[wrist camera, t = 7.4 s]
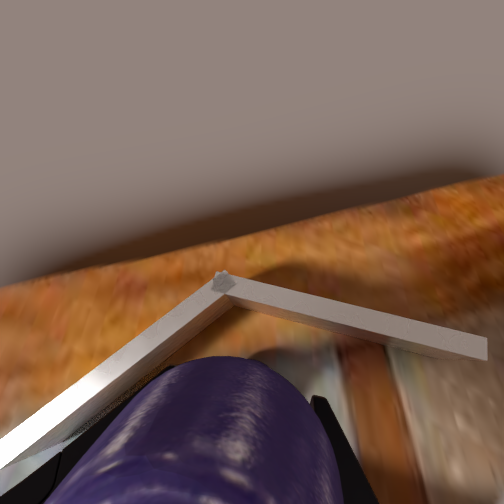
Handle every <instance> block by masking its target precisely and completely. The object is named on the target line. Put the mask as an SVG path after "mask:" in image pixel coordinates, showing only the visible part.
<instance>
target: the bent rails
mask: <svg viewBox="0 0 504 504" xmlns="http://www.w3.org/2000/svg"><path fill="white" fill-rule="evenodd" d="M233 306H237V307H241V308H245V309H249V310H252V311H256V312H260V313H264V314H268V315H272V316H275V317H279V318H283V319H287V320H291V321H294V322H298V323H302V324H306V325H310V326H314V327H317V328H321V329H325V330H329V331H333V332H337V333H340V334H344V335H348V336H352V337H356V338H360V339H363V340H367V341H371V342H375V343H379V344H382V345H386V346H390V347H394V348H398V349H402V350H405V351H409V352H413V353H417V354H421V355H425V356H428V357H432V358H436V359H452V360H475V361H488V357H487V338H486V337H482V336H478V335H474V334H470V333H466V332H461V331H457V330H453V329H449V328H445V327H441V326H437V325H433V324H429V323H425V322H421V321H417V320H413V319H408V318H404V317H400V316H396V315H392V314H388V313H384V312H380V311H376V310H372V309H368V308H364V307H359V306H355V305H351V304H347V303H343V302H339V301H335V300H331V299H327V298H323V297H319V296H315V295H311V294H306V293H302V292H298V291H294V290H290V289H286V288H282V287H278V286H274V285H270V284H266V283H262V282H257V281H253V280H249V279H245V278H241V277H237V276H233V275H229V274H228V273H227V271H226V270H224V271H222V272H217V271H216V274H215V277H214V278H213V279H212V280H211V281H209V282H208V283H207V284H205V285H204V286H203V287H201V288H200V289H199V290H197V291H196V292H195V293H194V294H192V295H191V296H190V297H188V298H187V299H186V300H184V301H183V302H182V303H180V304H179V305H178V306H176V307H175V308H174V309H172V310H171V311H170V312H168V313H167V314H166V315H165V316H163V317H162V318H161V319H159V320H158V321H157V322H155V323H154V324H153V325H151V326H150V327H149V328H147V329H146V330H145V331H143V332H142V333H141V334H140V335H138V336H137V337H136V338H134V339H133V340H132V341H130V342H129V343H128V344H126V345H125V346H124V347H122V348H121V349H120V350H118V351H117V352H116V353H114V354H113V355H112V356H111V357H109V358H108V359H107V360H105V361H104V362H103V363H101V364H100V365H99V366H97V367H96V368H95V369H93V370H92V371H91V372H89V373H88V374H87V375H86V376H84V377H83V378H82V379H80V380H79V381H78V382H76V383H75V384H74V385H72V386H71V387H70V388H68V389H67V390H66V391H64V392H63V393H62V394H61V395H59V396H58V397H57V398H55V399H54V400H53V401H51V402H50V403H49V404H47V405H46V406H45V407H43V408H42V409H41V410H39V411H38V412H37V413H35V414H34V415H33V416H32V417H30V418H29V419H28V420H26V421H25V422H24V423H22V424H21V425H20V426H18V427H17V428H16V429H14V430H13V431H12V432H10V433H9V434H8V435H7V436H5V437H4V438H3V439H1V440H0V470H1V469H3V468H5V467H7V466H10V465H12V464H14V463H17V462H19V461H21V460H23V459H26V458H28V457H30V456H32V455H35V454H37V453H39V452H42V451H44V450H46V449H48V448H51V447H53V446H55V445H57V444H60V443H61V442H63V441H64V440H65V439H66V438H68V437H69V436H70V435H71V434H73V433H74V432H75V431H76V430H78V429H79V428H80V427H81V426H83V425H84V424H85V423H86V422H88V421H89V420H90V419H92V418H93V417H94V416H95V415H97V414H98V413H99V412H100V411H102V410H103V409H104V408H105V407H107V406H108V405H109V404H110V403H112V402H113V401H114V400H115V399H117V398H118V397H119V396H121V395H122V394H123V393H124V392H126V391H127V390H128V389H129V388H131V387H132V386H133V385H134V384H136V383H137V382H138V381H139V380H141V379H142V378H143V377H144V376H146V375H147V374H148V373H150V372H151V371H152V370H153V369H155V368H156V367H157V366H158V365H160V364H161V363H162V362H163V361H165V360H166V359H167V358H168V357H170V356H171V355H172V354H173V353H175V352H176V351H177V350H179V349H180V348H181V347H182V346H184V345H185V344H186V343H187V342H189V341H190V340H191V339H192V338H194V337H195V336H196V335H197V334H199V333H200V332H201V331H202V330H204V329H205V328H206V327H208V326H209V325H210V324H211V323H213V322H214V321H215V320H216V319H218V318H219V317H220V316H221V315H223V314H224V313H225V312H226V311H228V310H229V309H230V308H231V307H233Z"/></svg>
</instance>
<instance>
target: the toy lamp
mask: <svg viewBox="0 0 504 504" xmlns="http://www.w3.org/2000/svg"><path fill="white" fill-rule="evenodd" d="M44 504H344V501H343V493H342V487H341V480H340V474H339V469H338V466H337V462H336V458H335V454H334V451H333V447H332V445H331V442H330V440H329V438H328V436H327V434H326V432H325V430H324V427H323V425H322V423H321V421H320V419H319V418H318V416H317V415H316V413H315V412H314V410H313V409H312V407H311V406H310V404H309V403H308V401H307V400H306V399H305V397H304V396H303V395H302V394H301V393H300V392H299V391H298V390H297V389H296V388H295V387H294V386H293V385H292V384H291V383H290V382H289V381H288V380H286V379H285V378H284V377H282V376H281V375H280V374H278V373H276V372H275V371H273V370H272V369H270V368H269V367H268V366H267V365H265V364H264V363H262V362H260V361H257V360H252V359H244V358H240V357H231V356H211V357H206V358H201V359H196V360H192V361H189V362H186V363H183V364H180V365H178V366H176V367H174V368H172V369H170V370H168V371H166V372H165V373H163V374H162V375H160V376H159V377H157V378H156V379H154V380H153V381H151V382H150V383H149V384H148V385H147V386H146V387H145V388H144V389H143V390H141V391H140V392H139V393H138V394H137V395H136V396H135V397H134V398H133V399H132V400H131V401H130V403H129V404H128V405H127V406H126V407H125V408H124V409H123V410H122V411H121V412H120V414H119V415H118V416H117V417H116V418H115V419H114V421H113V422H112V423H111V424H110V425H109V426H108V427H107V429H106V430H105V431H104V432H103V433H102V434H101V436H100V437H99V438H98V439H97V440H96V441H95V443H94V444H93V445H92V446H91V447H90V448H89V450H88V451H87V452H86V453H85V454H84V455H83V457H82V458H81V459H80V460H79V461H78V462H77V464H76V465H75V466H74V467H73V468H72V470H71V471H70V472H69V473H68V475H67V476H66V477H65V478H64V479H63V481H62V482H61V483H60V484H59V486H58V487H57V488H56V489H55V490H54V492H53V493H52V494H51V495H50V497H49V498H48V499H47V500H46V501H45V503H44Z"/></svg>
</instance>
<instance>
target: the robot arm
mask: <svg viewBox="0 0 504 504" xmlns="http://www.w3.org/2000/svg"><path fill="white" fill-rule="evenodd" d="M174 367H176V365H169V366H167V367H166V368H165V369H163V370H162V371H161V372H160V373H158V374H157V375H156V376H155V377H153V378H152V379H151V380H150V381H148V382H147V383H146V384H144V385H143V386H142V387H141V388H139V389H138V390H137V391H136V392H134V393H133V394H132V395H131V396H129V397H128V398H127V399H126V400H124V401H123V402H122V403H121V404H119V405H118V406H117V407H116V408H114V409H113V410H112V411H110V412H109V413H108V414H107V415H105V416H104V417H103V418H102V419H100V420H99V421H98V422H97V423H95V424H94V425H93V426H92V427H90V428H89V429H88V430H87V431H85V432H84V433H83V434H82V435H80V436H79V437H78V438H76V439H75V440H74V441H73V442H71V443H70V444H69V445H68V446H66V447H65V448H64V449H63V450H62V452H59V453H57V454H56V455H55V456H54V457H52V458H51V459H50V460H49V461H47V462H46V463H45V464H44V465H42V466H41V467H40V468H38V469H37V470H36V471H34V472H33V473H32V474H30V475H29V476H28V477H27V478H25V479H24V480H23V481H21V482H20V483H19V484H17V485H16V486H14V487H13V488H12V489H10V490H9V491H7V492H6V493H5V494H3V495H2V496H0V504H44V503H45V501H46V500H47V499H48V498H49V497H50V495H51V494H52V493H53V492H54V490H55V489H56V488H57V487H58V486H59V484H60V483H61V482H62V481H63V479H64V478H65V477H66V476H67V475H68V473H69V472H70V471H71V470H72V468H73V467H74V466H75V465H76V464H77V462H78V461H79V460H80V459H81V458H82V457H83V455H84V454H85V453H86V452H87V451H88V450H89V448H90V447H91V446H92V445H93V444H94V443H95V441H96V440H97V439H98V438H99V437H100V436H101V434H102V433H103V432H104V431H105V430H106V429H107V427H108V426H109V425H110V424H111V423H112V422H113V421H114V419H115V418H116V417H117V416H118V415H119V414H120V412H121V411H122V410H123V409H124V408H125V407H126V406H127V405H128V404H129V403H130V401H131V400H132V399H133V398H134V397H135V396H136V395H137V394H138V393H139V392H140V391H141V390H143V389H144V388H145V387H146V386H147V385H148V384H149V383H150V382H151V381H153V380H154V379H156V378H157V377H159V376H160V375H162V374H163V373H165V372H166V371H168V370H170V369H172V368H174ZM310 406H311V407H312V409H313V410H314V412H315V413H316V415H317V416H318V418H319V419H320V421H321V423H322V425H323V427H324V430H325V432H326V434H327V436H328V438H329V440H330V442H331V445H332V447H333V451H334V454H335V458H336V462H337V466H338V469H339V474H340V480H341V487H342V493H343V501H344V504H379V502H378V500H377V498H376V496H375V494H374V492H373V490H372V488H371V486H370V484H369V482H368V480H367V478H366V476H365V474H364V472H363V470H362V468H361V466H360V464H359V462H358V460H357V458H356V456H355V454H354V452H353V450H352V448H351V446H350V444H349V442H348V440H347V438H346V436H345V434H344V432H343V430H342V428H341V426H340V424H339V422H338V420H337V418H336V416H335V414H334V413H333V411H332V409H331V407H330V405H329V403H328V401H327V399H326V398H325V397H321V396H317V395H313V396H312V398H311V402H310Z"/></svg>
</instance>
